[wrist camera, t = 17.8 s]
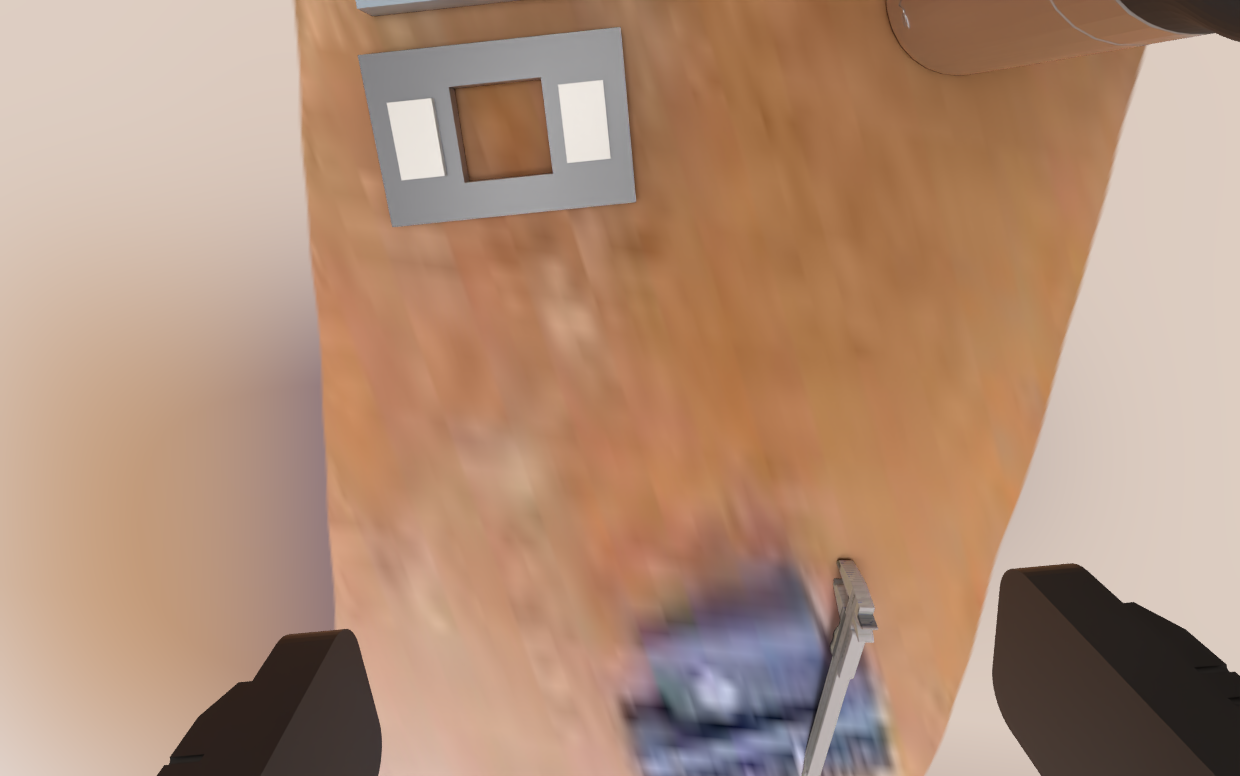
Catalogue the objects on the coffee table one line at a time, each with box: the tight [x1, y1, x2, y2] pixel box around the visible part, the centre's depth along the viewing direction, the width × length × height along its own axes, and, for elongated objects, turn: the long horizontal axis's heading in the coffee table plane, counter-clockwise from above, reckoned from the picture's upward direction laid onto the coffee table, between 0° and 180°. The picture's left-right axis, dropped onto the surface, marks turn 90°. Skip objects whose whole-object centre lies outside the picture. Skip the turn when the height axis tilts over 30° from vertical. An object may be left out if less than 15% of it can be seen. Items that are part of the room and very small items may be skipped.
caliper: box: [802, 560, 878, 776], centre depth 51 cm, size 20×1×6 cm, turn 178°
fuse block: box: [358, 27, 636, 227], centre depth 40 cm, size 14×9×2 cm, turn 96°
